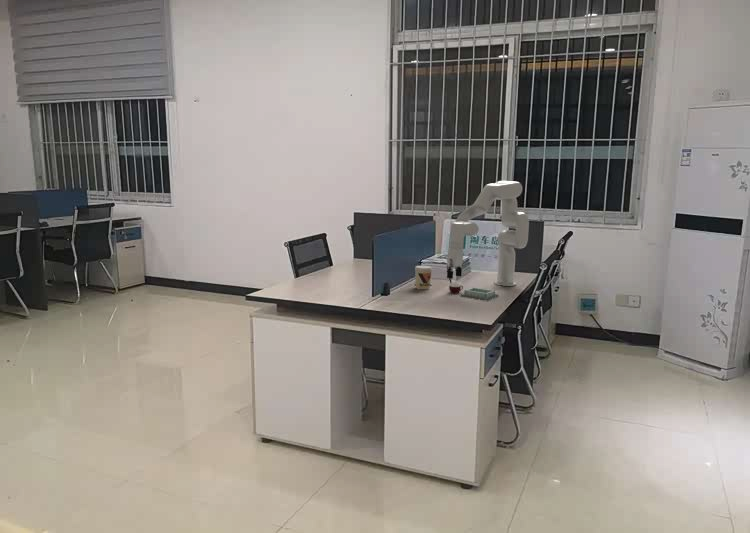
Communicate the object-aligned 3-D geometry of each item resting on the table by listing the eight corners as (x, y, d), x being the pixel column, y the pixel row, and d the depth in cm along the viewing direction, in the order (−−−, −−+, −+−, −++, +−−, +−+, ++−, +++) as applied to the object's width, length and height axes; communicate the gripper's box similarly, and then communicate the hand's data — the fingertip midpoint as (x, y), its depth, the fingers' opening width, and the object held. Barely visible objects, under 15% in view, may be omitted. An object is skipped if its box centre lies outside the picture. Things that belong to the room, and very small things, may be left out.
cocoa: (462, 292, 314) (464, 270, 312) (462, 294, 308) (464, 272, 306) (445, 290, 316) (447, 268, 314) (444, 292, 310) (446, 270, 308)
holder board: (472, 292, 313) (472, 286, 313) (498, 296, 305) (498, 290, 304) (460, 296, 302) (460, 290, 301) (487, 301, 293) (487, 294, 293)
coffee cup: (417, 290, 314) (418, 268, 312) (411, 286, 323) (412, 265, 321) (433, 289, 317) (434, 268, 315) (427, 286, 325) (428, 265, 323)
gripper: (457, 243, 316) (455, 274, 319) (442, 246, 303) (440, 278, 305) (470, 245, 312) (467, 276, 315) (454, 247, 298) (452, 280, 301)
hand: (454, 277), depth 310 cm, fingers open, 9 cm apart
